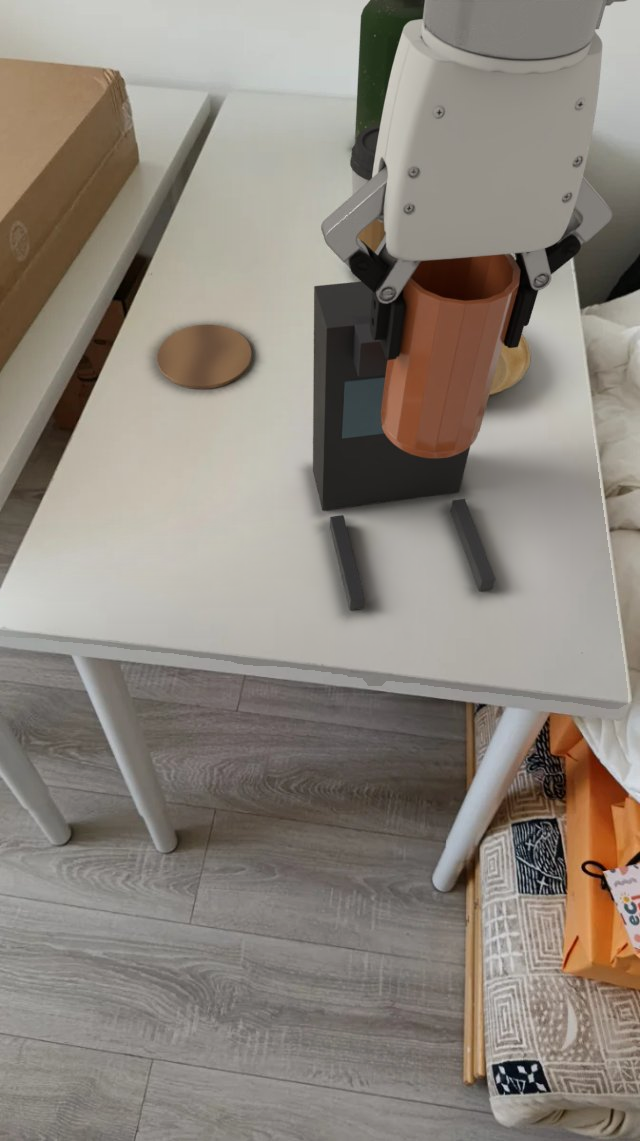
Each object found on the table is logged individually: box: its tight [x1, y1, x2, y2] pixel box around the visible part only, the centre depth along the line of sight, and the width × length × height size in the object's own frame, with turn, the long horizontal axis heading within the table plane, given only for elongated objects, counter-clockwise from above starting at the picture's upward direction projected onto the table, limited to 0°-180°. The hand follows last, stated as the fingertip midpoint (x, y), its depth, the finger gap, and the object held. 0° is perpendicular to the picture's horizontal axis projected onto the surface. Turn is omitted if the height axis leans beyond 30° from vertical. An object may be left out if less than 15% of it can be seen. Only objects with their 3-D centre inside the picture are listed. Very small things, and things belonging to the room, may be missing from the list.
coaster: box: [156, 324, 253, 390], centre depth 82 cm, size 10×10×1 cm
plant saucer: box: [489, 334, 532, 398], centre depth 81 cm, size 15×15×3 cm
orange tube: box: [381, 254, 521, 458], centre depth 49 cm, size 7×7×12 cm
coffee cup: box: [349, 125, 386, 252], centre depth 86 cm, size 8×8×15 cm
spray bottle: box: [354, 0, 425, 144], centre depth 98 cm, size 10×10×25 cm
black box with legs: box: [312, 280, 497, 611], centre depth 61 cm, size 13×16×20 cm
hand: (446, 337), depth 48 cm, fingers closed on orange tube, 6 cm apart
